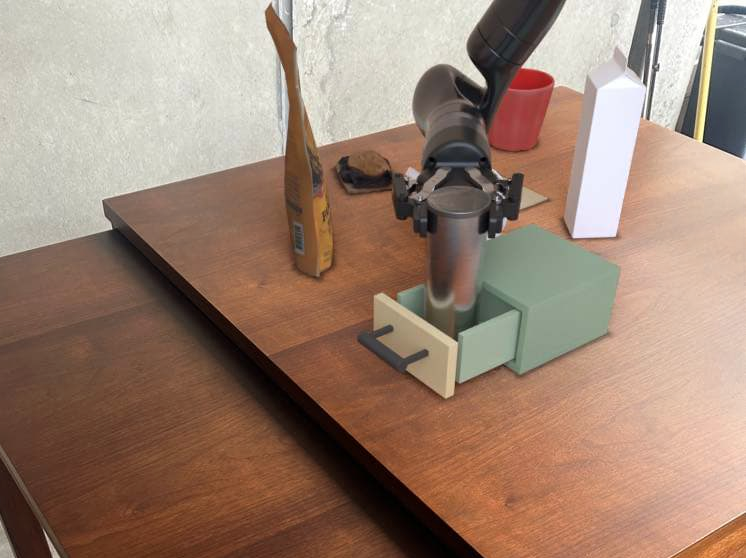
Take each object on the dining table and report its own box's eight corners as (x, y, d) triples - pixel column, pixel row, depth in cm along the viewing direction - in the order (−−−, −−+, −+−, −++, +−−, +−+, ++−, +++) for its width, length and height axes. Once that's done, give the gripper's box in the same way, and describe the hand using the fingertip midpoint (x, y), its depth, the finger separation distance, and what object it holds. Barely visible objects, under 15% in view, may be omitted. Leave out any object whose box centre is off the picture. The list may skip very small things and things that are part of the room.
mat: (500, 177, 132) (500, 175, 131) (547, 199, 126) (547, 197, 125) (450, 195, 128) (450, 193, 127) (496, 219, 122) (496, 216, 122)
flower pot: (537, 128, 145) (545, 64, 138) (552, 153, 137) (562, 88, 130) (474, 131, 145) (479, 68, 138) (486, 157, 137) (492, 91, 130)
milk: (571, 239, 117) (601, 60, 101) (563, 219, 121) (589, 45, 106) (617, 237, 117) (653, 58, 101) (606, 217, 121) (639, 42, 105)
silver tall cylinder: (453, 312, 98) (461, 180, 87) (490, 336, 94) (504, 200, 83) (410, 331, 95) (413, 197, 84) (446, 356, 91) (455, 219, 81)
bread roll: (332, 167, 136) (331, 143, 134) (384, 161, 137) (384, 137, 134) (345, 195, 129) (344, 170, 126) (400, 189, 130) (400, 164, 127)
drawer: (413, 414, 89) (415, 361, 84) (342, 359, 96) (341, 308, 92) (532, 357, 96) (540, 306, 91) (458, 310, 103) (462, 260, 98)
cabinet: (519, 375, 95) (529, 307, 89) (438, 322, 103) (442, 257, 97) (607, 333, 100) (621, 267, 94) (523, 286, 108) (532, 222, 102)
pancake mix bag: (284, 286, 110) (264, 41, 90) (281, 219, 123) (263, -7, 104) (337, 283, 110) (328, 38, 90) (328, 216, 124) (319, -9, 104)
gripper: (391, 124, 93) (383, 190, 81) (526, 123, 92) (538, 191, 80) (390, 193, 98) (383, 264, 87) (518, 193, 97) (528, 266, 86)
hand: (458, 228), depth 84 cm, fingers closed on silver tall cylinder, 6 cm apart
